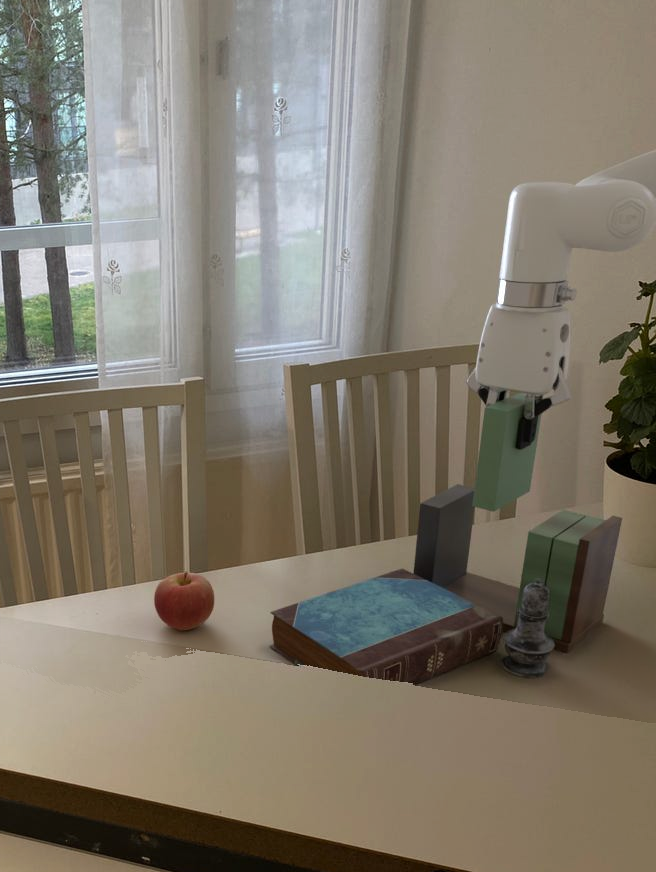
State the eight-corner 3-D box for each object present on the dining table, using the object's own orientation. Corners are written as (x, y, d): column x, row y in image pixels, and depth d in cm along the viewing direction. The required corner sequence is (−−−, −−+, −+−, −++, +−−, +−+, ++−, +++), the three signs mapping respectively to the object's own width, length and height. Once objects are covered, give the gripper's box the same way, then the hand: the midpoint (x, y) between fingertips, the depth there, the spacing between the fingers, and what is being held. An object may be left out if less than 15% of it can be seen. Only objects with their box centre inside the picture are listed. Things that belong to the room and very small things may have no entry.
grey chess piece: (528, 650, 114) (543, 563, 109) (560, 673, 109) (577, 583, 104) (488, 658, 112) (501, 571, 107) (519, 682, 107) (534, 591, 102)
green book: (508, 486, 124) (522, 391, 118) (529, 491, 122) (544, 395, 116) (472, 506, 117) (484, 407, 112) (493, 512, 115) (507, 411, 110)
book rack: (439, 570, 136) (450, 475, 129) (602, 622, 120) (624, 516, 114) (399, 595, 129) (408, 495, 122) (567, 653, 113) (587, 542, 107)
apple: (225, 631, 120) (225, 577, 117) (169, 644, 118) (167, 588, 114) (200, 606, 127) (199, 554, 124) (147, 617, 124) (145, 564, 121)
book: (362, 709, 103) (365, 672, 101) (267, 645, 117) (268, 611, 115) (499, 652, 114) (504, 617, 112) (398, 599, 127) (400, 567, 125)
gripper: (612, 297, 105) (585, 450, 113) (482, 285, 116) (465, 426, 124) (585, 306, 101) (559, 464, 109) (452, 292, 111) (436, 438, 119)
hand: (509, 442), depth 116 cm, fingers closed on green book, 3 cm apart
